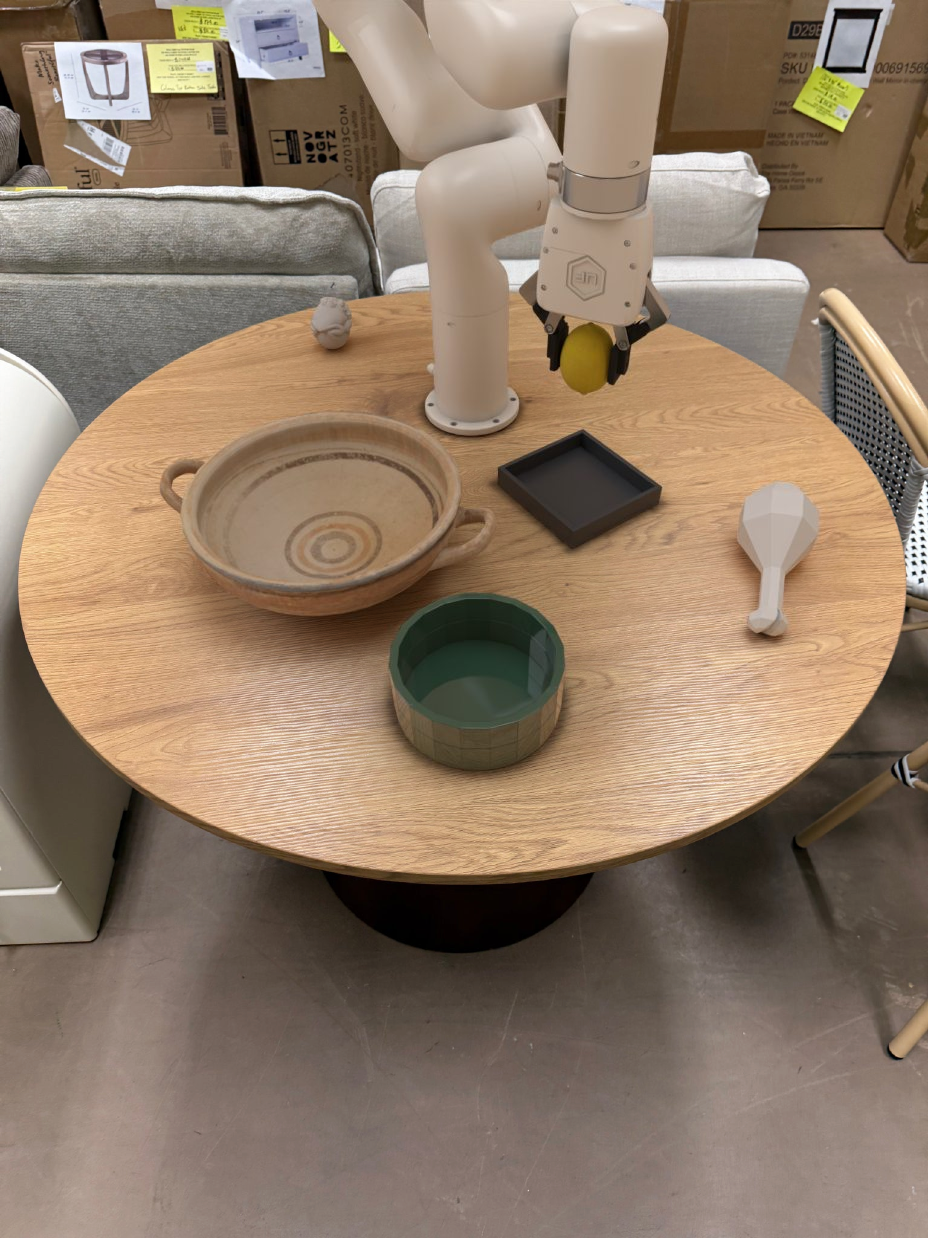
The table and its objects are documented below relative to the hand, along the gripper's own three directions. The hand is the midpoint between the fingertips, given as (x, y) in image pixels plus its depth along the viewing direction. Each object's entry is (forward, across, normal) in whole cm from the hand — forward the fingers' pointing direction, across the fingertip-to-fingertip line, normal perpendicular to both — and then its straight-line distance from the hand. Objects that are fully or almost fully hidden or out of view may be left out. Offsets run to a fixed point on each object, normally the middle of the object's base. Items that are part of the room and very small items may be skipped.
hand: (586, 369), depth 84 cm
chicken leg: (+17, +24, -4) cm, 29 cm away
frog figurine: (+17, -45, +18) cm, 52 cm away
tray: (+17, 0, +1) cm, 17 cm away
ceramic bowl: (+17, -20, -21) cm, 34 cm away
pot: (+17, +2, -32) cm, 36 cm away
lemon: (+3, 0, 0) cm, 3 cm away
